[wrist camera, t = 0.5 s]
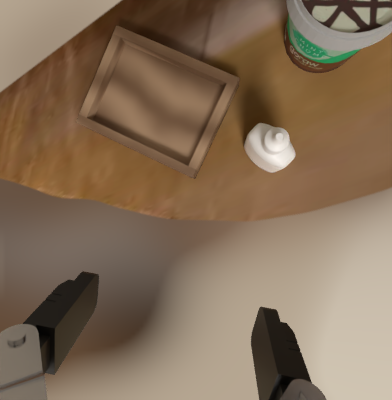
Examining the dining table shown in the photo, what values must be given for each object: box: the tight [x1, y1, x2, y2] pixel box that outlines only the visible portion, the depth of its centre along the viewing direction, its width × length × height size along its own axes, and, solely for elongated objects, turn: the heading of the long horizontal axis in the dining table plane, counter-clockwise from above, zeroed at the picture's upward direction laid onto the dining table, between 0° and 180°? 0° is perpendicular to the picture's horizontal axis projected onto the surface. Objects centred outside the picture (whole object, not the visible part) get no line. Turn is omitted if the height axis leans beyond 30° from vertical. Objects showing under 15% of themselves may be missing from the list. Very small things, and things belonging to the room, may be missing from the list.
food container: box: [284, 0, 392, 73], centre depth 30 cm, size 12×6×10 cm, turn 65°
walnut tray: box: [76, 25, 240, 179], centre depth 37 cm, size 14×18×2 cm
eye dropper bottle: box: [244, 123, 295, 173], centre depth 30 cm, size 4×6×12 cm
